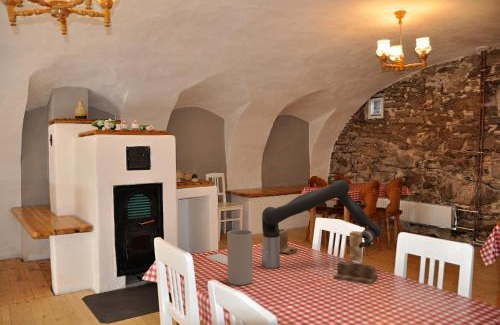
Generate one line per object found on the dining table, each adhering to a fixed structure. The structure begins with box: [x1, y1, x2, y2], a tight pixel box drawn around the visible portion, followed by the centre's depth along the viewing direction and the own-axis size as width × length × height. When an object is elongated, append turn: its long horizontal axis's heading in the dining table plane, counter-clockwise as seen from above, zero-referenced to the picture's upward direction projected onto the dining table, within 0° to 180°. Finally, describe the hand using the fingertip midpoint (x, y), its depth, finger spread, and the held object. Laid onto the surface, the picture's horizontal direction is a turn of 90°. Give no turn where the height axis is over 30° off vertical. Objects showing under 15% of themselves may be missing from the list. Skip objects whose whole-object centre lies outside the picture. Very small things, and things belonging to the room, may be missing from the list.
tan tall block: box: [349, 230, 363, 262], centre depth 229 cm, size 5×5×14 cm
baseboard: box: [203, 252, 228, 266], centre depth 262 cm, size 31×3×12 cm
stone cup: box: [279, 228, 299, 255], centre depth 282 cm, size 15×12×15 cm
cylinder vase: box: [226, 229, 254, 286], centre depth 224 cm, size 12×12×25 cm
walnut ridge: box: [333, 261, 378, 285], centre depth 229 cm, size 19×12×7 cm, turn 60°
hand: (354, 245), depth 226 cm, fingers closed on tan tall block, 5 cm apart
